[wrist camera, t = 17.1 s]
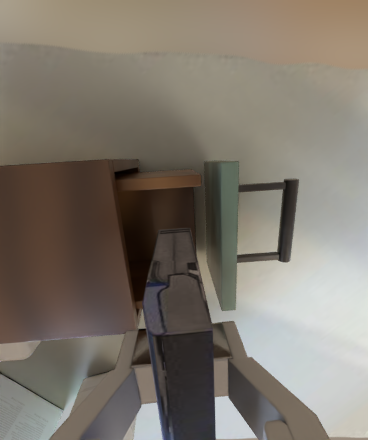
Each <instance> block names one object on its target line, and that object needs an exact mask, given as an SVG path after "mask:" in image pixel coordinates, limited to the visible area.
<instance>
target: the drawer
mask: <svg viewBox="0 0 368 440" xmlns="http://www.w3.org/2000/svg"><path fill="white" fill-rule="evenodd" d="M114 175H115V181H116V188H117V194H118V200H119V206H120V212H121V219H122V225H123V231H124V237H125V244H126V250H127V256H128V262H129V269H130V275H131V281H132V287H133V294H134V300H135V306H136V309H143V306H142V301H143V297H144V292H145V288H146V283H147V279H148V274H149V269H150V265H151V260H152V256H153V251H154V247H155V242H156V237H157V233H158V230H164V229H177V228H190V230H191V234H192V239H193V243H194V247H195V252H196V235H195V213H194V191H193V187H196V186H201V175H200V174H199V173H197V172H195V171H194V170H192V169H184V170H168V171H153V172H137V173H121V174H114ZM204 185H205V220H206V255H207V264H208V267H209V271H210V274H211V277H212V280H213V284H214V287H215V290H216V294H217V297H218V300H219V303H220V307H221V310H222V311H228V310H236V278H237V263H241V262H254V261H267V260H278V261H280V262H289V261H290V257H291V248H292V239H293V230H294V221H295V212H296V203H297V194H298V185H299V179H284V182H272V183H257V184H242V185H239V161H204ZM281 189H283V194H282V205H281V217H280V228H279V239H278V250H277V252H269V253H255V254H242V255H237V232H238V192H251V191H266V190H281Z"/></svg>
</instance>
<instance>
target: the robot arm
mask: <svg viewBox="0 0 368 440" xmlns="http://www.w3.org/2000/svg"><path fill="white" fill-rule="evenodd" d="M212 327H213V354H214V396H215V397H219V396H229V399H230V400H231V401H232V403H233V404H234V406H235V407H236V408H237V410H238V411H239V413H240V414H241V415H242V417H243V418H244V420H245V421H246V422H247V424H248V425H249V427H250V428H251V429H252V431H253V432H254V434H255V435H256V436H257V438H258V439H259V440H330V439H329V437H328V435H327V433H326V432H325V430H324V428H323V426H322V424H321V422H320V421H319V419H318V417H317V415H316V414H315V413H314V412H312V411H311V410H310V409H309V408H308V407H307V406H306V405H305V404H303V403H302V402H301V401H300V400H299V399H298V398H297V397H296V396H295V395H293V394H292V393H291V392H290V391H289V390H288V389H287V388H286V387H284V386H283V385H282V384H281V383H280V382H279V381H278V380H277V379H275V378H274V377H273V376H272V375H271V374H270V373H269V372H268V371H266V370H265V369H264V368H263V367H262V366H261V365H260V364H259V363H258V362H256V361H255V360H254V359H253V358H252V357H247V354H246V351H245V349H244V346H243V343H242V341H241V338H240V335H239V333H238V330H237V327H236V325H235V322H234V321H229V322H222V323H221V322H218V323H212ZM155 402H157V398H156V391H155V385H154V378H153V372H152V365H151V359H150V352H149V345H148V339H147V332H146V329H139V330H127V331H126V333H125V335H124V339H123V342H122V346H121V349H120V353H119V356H118V360H117V363H116V367H115V370H110V372H109V373H108V374H107V375H106V376H105V377H104V378H103V379H102V380H101V382H100V383H99V384H98V385H97V386H96V387H95V388H94V389H93V391H92V392H91V393H90V394H89V395H88V396H87V397H86V398H85V399H84V401H83V402H82V403H81V404H80V405H79V406H78V407H77V408H76V409H75V411H74V412H73V413H72V414H71V415H70V416H69V417H68V418H67V420H66V421H65V422H64V423H63V424H62V425H61V426H60V427H59V428H58V430H57V431H56V432H55V433H54V434H53V435H52V436H51V437H50V439H49V440H123V438H124V436H125V435H126V433H127V431H128V429H129V427H130V426H131V424H132V422H133V420H134V418H135V417H136V415H137V413H138V411H139V409H140V408H141V404H148V403H155Z"/></svg>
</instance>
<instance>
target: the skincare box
mask: <svg viewBox="0 0 368 440" xmlns="http://www.w3.org/2000/svg"><path fill="white" fill-rule="evenodd" d="M62 413H63V410H62V409H60V408H58V407H56V406H55V405H53V404H51V403H49V402H48V401H46V400H44V399H42V398H41V397H39V396H37V395H36V394H34V393H33V392H31V391H29V390H27V389H26V388H24V387H22V386H21V385H19V384H17V383H16V382H14V381H12V380H10V379H9V378H7V377H5V376H3V375H2V374H0V440H49V439H50V437H51V436H52V435H53V433H54V431H55V428H56V426H57V424H58V422H59V420H60V418H61V416H62Z"/></svg>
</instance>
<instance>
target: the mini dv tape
mask: <svg viewBox="0 0 368 440" xmlns="http://www.w3.org/2000/svg"><path fill="white" fill-rule="evenodd" d="M142 306H143V313H144V319H145V326H146V332H147V339H148V345H149V352H150V359H151V365H152V372H153V378H154V385H155V391H156V398H157V404H158V411H159V418H160V424H161V431H162V437H163V440H216V438H215V396H214V354H213V327H212V322H211V318H210V313H209V309H208V305H207V300H206V296H205V291H204V287H203V283H202V278H201V274H200V269H199V265H198V261H197V256H196V252H195V247H194V243H193V239H192V234H191V230H190V228H177V229H164V230H158V233H157V237H156V242H155V247H154V251H153V256H152V260H151V265H150V269H149V274H148V279H147V283H146V288H145V292H144V297H143V301H142Z"/></svg>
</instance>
